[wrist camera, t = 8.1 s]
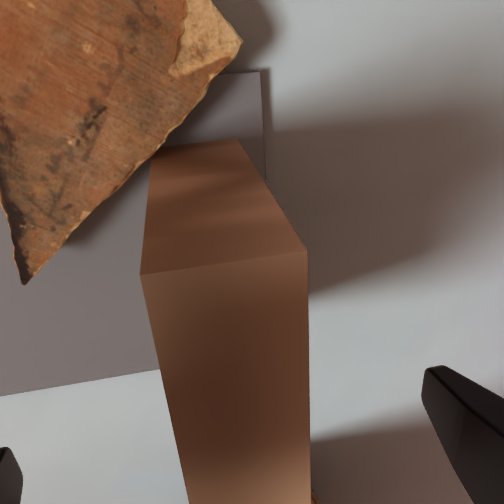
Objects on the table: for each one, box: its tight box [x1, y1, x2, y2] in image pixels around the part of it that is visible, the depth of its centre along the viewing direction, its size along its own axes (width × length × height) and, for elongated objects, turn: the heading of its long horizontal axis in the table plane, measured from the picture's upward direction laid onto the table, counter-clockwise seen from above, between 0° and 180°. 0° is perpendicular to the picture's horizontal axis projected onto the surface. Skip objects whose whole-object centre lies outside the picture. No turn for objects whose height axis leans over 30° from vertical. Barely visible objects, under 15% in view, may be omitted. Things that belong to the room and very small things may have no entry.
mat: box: [0, 71, 266, 396], centre depth 17 cm, size 13×12×1 cm
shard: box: [0, 0, 243, 285], centre depth 13 cm, size 11×8×2 cm
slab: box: [140, 138, 311, 504], centre depth 14 cm, size 3×8×9 cm, turn 4°
